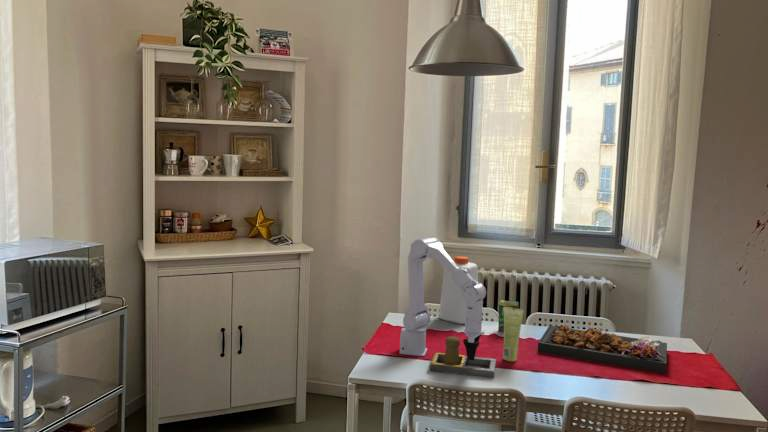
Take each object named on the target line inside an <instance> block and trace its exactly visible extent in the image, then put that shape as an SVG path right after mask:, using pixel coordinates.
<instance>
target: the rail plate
mask: <svg viewBox="0 0 768 432" xmlns="http://www.w3.org/2000/svg"><path fill="white" fill-rule="evenodd" d="M444 358H445V352H444V353H443V352H434V354H433V356H432V359H431V361H430V364H429V372H435V373H443V374H450V375H451V374H453V375H460V376H466V377H467V376H468V377H470V376H471V377H478V378H487V379H495V373H496V366H497V365H496V364H497V359H496V358H489V357H479V356H475V358H474V360H468V359H467V355H462V354H459V363H460V365H451V364H443V363H444ZM439 362H440V363H439ZM441 362H442V363H441ZM468 365H469V366H468ZM477 366H478V367H477ZM483 367H486V368H483Z"/></svg>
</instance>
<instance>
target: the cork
mask: <svg viewBox="0 0 768 432" xmlns="http://www.w3.org/2000/svg"><path fill="white" fill-rule="evenodd" d="M444 343H445V346H446V347H445V352H444V353H445V358H444V362H442V364H451V365H461V364H460V363H459V355H460V352H459V347H460V346H461V345H460V344H461V341H460V338H458V337H457V336H448V337H446V338H445V341H444Z"/></svg>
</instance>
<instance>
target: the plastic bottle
mask: <svg viewBox="0 0 768 432" xmlns="http://www.w3.org/2000/svg"><path fill="white" fill-rule="evenodd" d="M453 261H454V262H455V264H456V265H457V266H458V267H459V268H464V269H466V270H467V271H468V274H469V275H470V276H471V277H472V278H473V279H474V280H476V281H477V283H479V276H478V275H479V273H478V271H479V270H478V268H479V267H478V264H476V263H474V262H469V257H468V256H461V255H459V256H458V255H456V256H455V257H454V260H453ZM443 268H444V269H443V279H442V285H441V286H442V288H441V293H440V294H441V295H440V304H439V314H438V316H439V319H441V320H442V321H446V322H451V323H455V324H458V325H465V316H466V301H465V299H464V296H463V293H464V292H463V291H462V290H461V289H460V288H459V287H458V286H457V285H456V283H455V282H454V281H453V280H452V279H451V273H450V272H449V271H448V270H447V269H446V268H445V267H443Z"/></svg>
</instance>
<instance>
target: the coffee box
mask: <svg viewBox="0 0 768 432" xmlns="http://www.w3.org/2000/svg"><path fill="white" fill-rule="evenodd" d="M498 304H499V305H498V324H497V325H498V328H497V331H498V332H501V333H504V311H503V307H508V308H514V309H519V301H512V300H511V301H510V300H509V301H508V300H502V299H501V300H499V302H498Z"/></svg>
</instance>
